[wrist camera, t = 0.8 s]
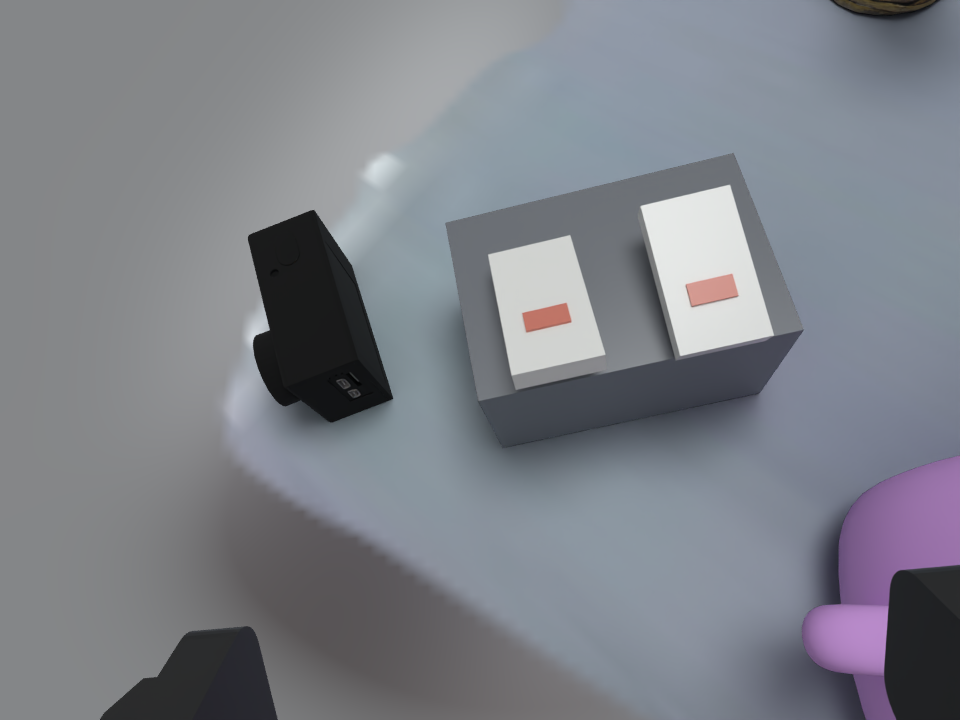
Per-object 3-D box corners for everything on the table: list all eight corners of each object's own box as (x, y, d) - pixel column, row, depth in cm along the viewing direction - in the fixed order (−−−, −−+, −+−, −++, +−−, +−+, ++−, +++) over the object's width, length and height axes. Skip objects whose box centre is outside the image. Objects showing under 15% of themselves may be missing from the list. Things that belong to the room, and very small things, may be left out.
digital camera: (277, 293, 47) (226, 240, 40) (351, 264, 46) (312, 206, 40) (312, 430, 42) (261, 395, 36) (393, 399, 42) (357, 358, 36)
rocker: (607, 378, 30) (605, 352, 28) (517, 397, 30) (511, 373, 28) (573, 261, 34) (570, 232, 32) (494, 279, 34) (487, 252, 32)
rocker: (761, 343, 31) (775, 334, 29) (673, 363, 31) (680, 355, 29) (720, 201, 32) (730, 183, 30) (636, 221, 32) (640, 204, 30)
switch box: (759, 392, 39) (803, 329, 31) (502, 447, 40) (478, 401, 32) (707, 245, 43) (733, 153, 34) (474, 299, 44) (445, 223, 36)
